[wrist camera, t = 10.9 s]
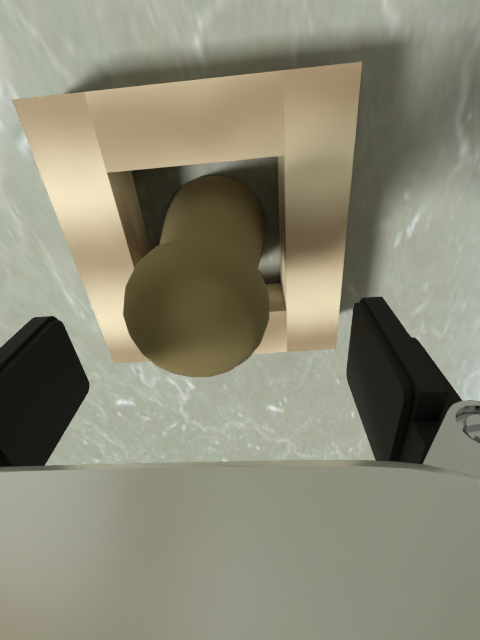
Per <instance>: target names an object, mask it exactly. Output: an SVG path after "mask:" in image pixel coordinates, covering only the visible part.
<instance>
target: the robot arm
mask: <svg viewBox="0 0 480 640" xmlns="http://www.w3.org/2000/svg"><path fill="white" fill-rule="evenodd" d="M347 381H348V384H349V387H350V389H351V392H352V395H353V398H354V401H355V403H356V406H357V409H358V412H359V415H360V418H361V420H362V423H363V426H364V429H365V432H366V434H367V437H368V440H369V443H370V446H371V449H372V451H373V454H374V457H375V460H376V461H369V460H283V461H227V462H176V463H132V464H91V465H54V466H45V464H46V462H47V461H48V459H49V457H50V455H51V454H52V452H53V450H54V449H55V447H56V445H57V444H58V442H59V440H60V439H61V437H62V435H63V434H64V432H65V430H66V429H67V427H68V425H69V424H70V422H71V420H72V418H73V417H74V415H75V413H76V412H77V410H78V408H79V407H80V405H81V403H82V402H83V400H84V398H85V397H86V395H87V393H88V391H89V381H88V379H87V376H86V374H85V372H84V370H83V367H82V365H81V363H80V361H79V358H78V356H77V354H76V352H75V349H74V347H73V345H72V343H71V340H70V338H69V336H68V333H67V331H66V329H65V327H64V325H63V323H62V322H61V321H59V320H58V319H57V318H55V317H53V316H48V317H34V318H33V319H31V320H30V321H29V322H28V323H27V324H26V325H25V326H24V327H23V328H21V329H20V330H19V331H18V332H17V333H16V334H15V335H14V336H13V337H12V338H11V339H10V340H8V341H7V342H6V343H5V344H4V345H3V346H2V347H1V348H0V640H480V401H474V400H467V401H462V400H461V398H460V397H459V395H458V394H457V393H456V391H455V390H454V389H453V387H452V386H451V385H450V383H449V382H448V380H447V379H446V378H445V376H444V375H443V374H442V372H441V371H440V370H439V368H438V367H437V365H436V364H435V363H434V361H433V360H432V359H431V357H430V356H429V354H428V353H427V352H426V350H425V349H424V348H423V346H422V345H421V344H420V342H419V341H418V340H417V339H416V338H413V337H412V338H411V337H410V335H409V334H408V333H407V331H406V330H405V328H404V327H403V325H402V324H401V323H400V321H399V320H398V318H397V317H396V316H395V314H394V313H393V311H392V310H391V309H390V307H389V306H388V304H387V303H386V302H385V300H384V299H383V298H382V297H369V298H362V299H361V300H360V303H355V304H354V308H353V317H352V326H351V335H350V344H349V353H348V362H347Z"/></svg>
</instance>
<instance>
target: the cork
mask: <svg viewBox="0 0 480 640" xmlns="http://www.w3.org/2000/svg"><path fill="white" fill-rule="evenodd" d="M264 238H265V216H264V213H263V211H262V208H261V205H260V202H259V201H258V200H257V199H256V197H255V196H254V195H253V193H252V192H251V191H250V189H248V188H247V187H245V186H244V185H242V184H241V183H239V182H238V181H236V180H234V179H231V178H227V177H224V176H220V175H213V176H201V177H199V178H196V179H194V180H192V181H190V182H187V183H186V184H185V185H184V186H183V187H181V188H180V189H179V190H178V191H177V192H176V193H175V194H174V196H173V198H172V200H171V202H170V204H169V206H168V208H167V212H166V216H165V221H164V226H163V230H162V235H161V240H160V244H159V245H158V246H156V247H155V248H154V249H152V250H151V251H150V252H149V253H148V254H147V255H146V256H145V257H143V258H142V259H141V260H140V261H139V263H138V264H137V265H136V267H135V268H134V270H133V272H132V274H131V276H130V278H129V280H128V282H127V284H126V286H125V295H124V308H123V316H124V320H125V323H126V326H127V330H128V333H129V335H130V337H131V339H132V340H133V342H134V343H135V344H136V346H137V347H138V349H139V350H140V351H141V353H142V354H143V355H144V356H145V357H146V358H148V359H149V360H150V361H151V362H153V363H154V364H155V365H156V366H158V367H160V368H163V369H165V370H167V371H169V372H172V373H174V374H178V375H183V376H189V377H211V376H215V375H218V374H222V373H225V372H228V371H230V370H232V369H233V368H235V367H236V366H238V365H240V364H241V363H243V362H244V361H245V360H247V359H248V358H249V357H250V356H251V355H252V353H253V352H254V351H255V350H256V349H257V347H258V346H259V345H260V344H261V341H262V339H263V336H264V333H265V330H266V328H267V325H268V322H269V295H268V290H267V288H266V285H265V283H264V280H263V277H262V275H261V272H260V271H259V270H258V266H259V261H260V257H261V252H262V247H263V243H264Z"/></svg>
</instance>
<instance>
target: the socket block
mask: <svg viewBox="0 0 480 640" xmlns="http://www.w3.org/2000/svg"><path fill="white" fill-rule="evenodd" d="M361 70H362V62H354V63H345V64H335V65H326V66H317V67H308V68H299V69H290V70H280V71H271V72H262V73H253V74H244V75H235V76H226V77H216V78H207V79H198V80H189V81H180V82H171V83H161V84H152V85H143V86H134V87H125V88H116V89H106V90H97V91H88V92H79V93H70V94H61V95H51V96H42V97H33V98H24V99H15V100H12V101H13V104H14V107H15V109H16V112H17V114H18V117H19V120H20V122H21V125H22V127H23V130H24V132H25V135H26V138H27V140H28V143H29V145H30V148H31V150H32V153H33V156H34V158H35V161H36V163H37V166H38V168H39V171H40V174H41V176H42V179H43V181H44V184H45V186H46V189H47V192H48V194H49V197H50V199H51V202H52V205H53V207H54V210H55V212H56V215H57V217H58V220H59V223H60V225H61V228H62V230H63V233H64V235H65V238H66V241H67V243H68V246H69V248H70V251H71V253H72V256H73V259H74V261H75V264H76V266H77V269H78V271H79V274H80V277H81V279H82V282H83V284H84V287H85V289H86V292H87V295H88V297H89V300H90V302H91V305H92V308H93V310H94V313H95V315H96V318H97V320H98V323H99V326H100V328H101V331H102V333H103V336H104V338H105V341H106V344H107V346H108V349H109V351H110V354H111V356H112V359H113V362H114V363H126V362H141V361H150V360H149V359H148V358H146V357H145V356H144V355H143V354H142V353H141V351H140V350H139V349H138V347H137V346H136V344H135V343H134V342H133V340H132V339H131V337H130V335H129V333H128V330H127V326H126V323H125V320H124V316H123V308H124V295H125V286H126V284H127V282H128V280H129V278H130V276H131V274H132V272H133V270H134V268H135V267H136V265H137V264H138V263H139V261H140V260H141V259H142V258H143V257H145V256H146V255H147V254H148V253H149V252H150V251H151V248H150V244H149V240H148V236H147V232H146V228H145V224H144V220H143V216H142V212H141V208H140V204H139V200H138V196H137V192H136V188H135V183H134V179H133V175H132V171H131V170H141V169H151V168H162V167H172V166H182V165H193V164H203V163H214V162H224V161H234V160H245V159H255V158H266V157H276V156H278V194H279V240H280V283H275V284H265V285H266V288H267V290H268V295H269V322H268V325H267V328H266V330H265V333H264V336H263V339H262V341H261V344H260V345H259V346H258V347H257V349H256V350H255V351H254V352H253V353H252V354H261V353H276V352H291V351H307V350H322V349H336V342H337V331H338V320H339V309H340V298H341V288H342V277H343V266H344V255H345V244H346V233H347V222H348V212H349V201H350V190H351V179H352V168H353V157H354V146H355V135H356V125H357V114H358V103H359V92H360V81H361Z"/></svg>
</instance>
